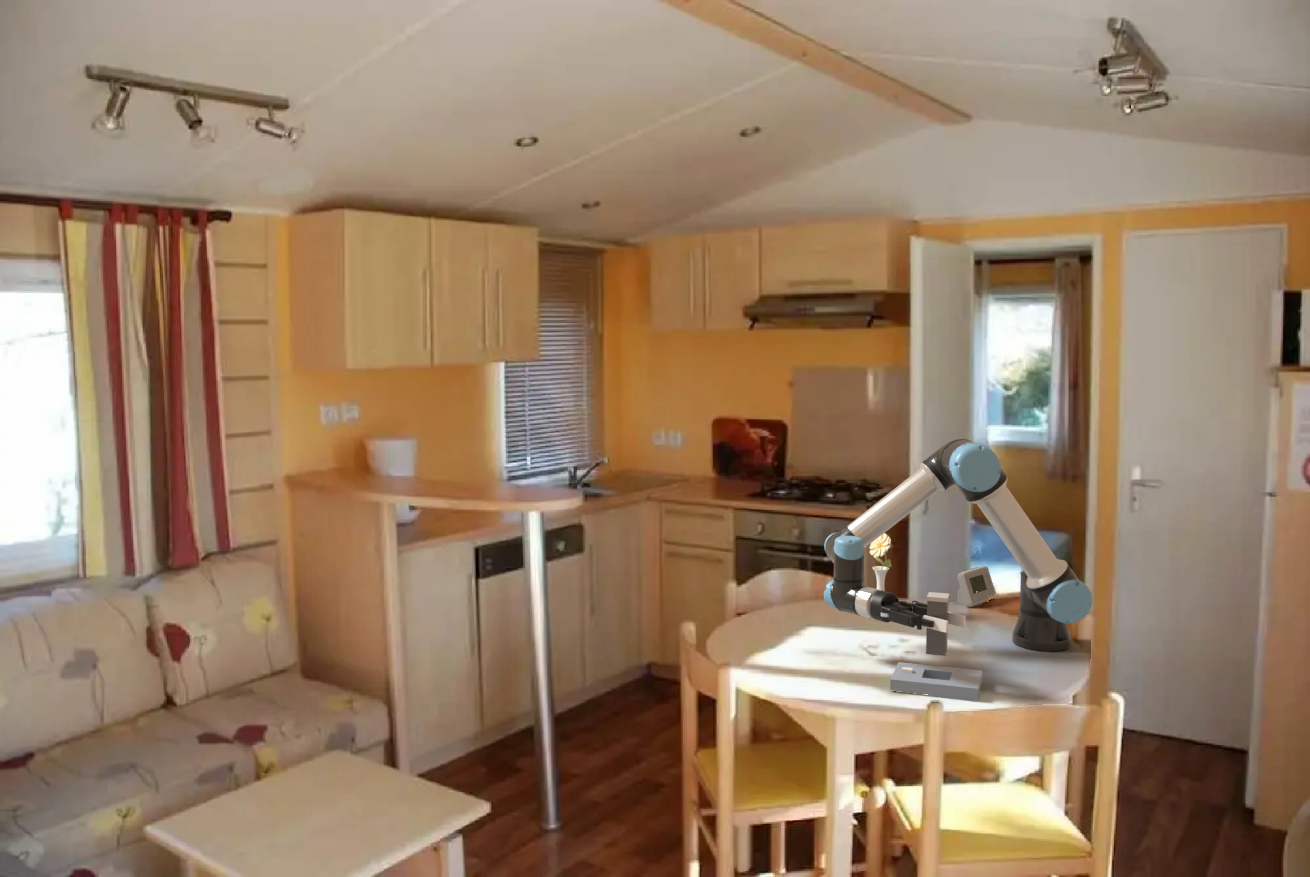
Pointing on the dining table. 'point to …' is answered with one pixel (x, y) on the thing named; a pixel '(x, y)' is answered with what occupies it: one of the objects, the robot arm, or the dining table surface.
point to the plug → (939, 609)
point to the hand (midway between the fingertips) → (955, 624)
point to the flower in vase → (877, 550)
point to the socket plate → (937, 681)
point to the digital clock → (975, 586)
